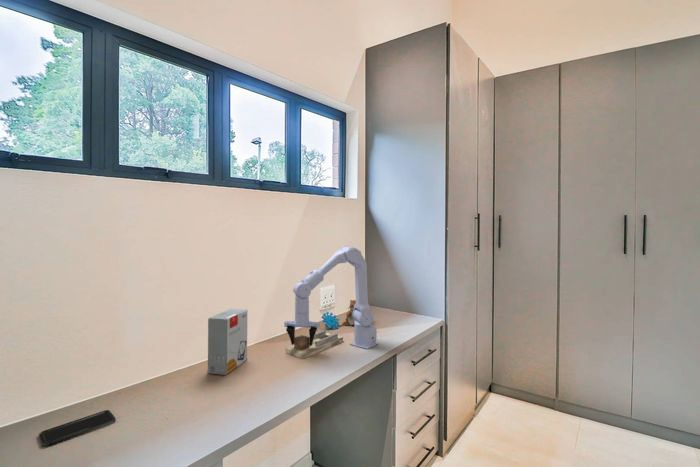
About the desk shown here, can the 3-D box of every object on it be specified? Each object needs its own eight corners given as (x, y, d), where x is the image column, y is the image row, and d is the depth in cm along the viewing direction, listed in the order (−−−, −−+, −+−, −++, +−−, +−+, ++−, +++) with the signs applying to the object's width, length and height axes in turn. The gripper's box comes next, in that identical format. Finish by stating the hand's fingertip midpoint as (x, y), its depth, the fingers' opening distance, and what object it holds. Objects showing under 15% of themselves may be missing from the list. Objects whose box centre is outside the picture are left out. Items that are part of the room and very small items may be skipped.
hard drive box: (226, 376, 123) (226, 319, 122) (207, 374, 124) (206, 318, 124) (248, 359, 138) (247, 308, 137) (230, 357, 140) (230, 307, 139)
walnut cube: (309, 347, 145) (309, 337, 145) (301, 350, 142) (301, 339, 142) (301, 345, 148) (301, 334, 148) (294, 348, 144) (294, 337, 144)
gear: (326, 328, 172) (320, 311, 178) (321, 335, 175) (314, 317, 181) (344, 327, 179) (337, 310, 185) (338, 333, 182) (331, 317, 188)
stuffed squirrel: (340, 326, 182) (340, 301, 182) (353, 319, 195) (353, 296, 194) (357, 329, 177) (357, 303, 177) (369, 322, 190) (369, 297, 189)
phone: (38, 432, 88) (108, 409, 100) (38, 436, 88) (108, 412, 100) (43, 446, 83) (116, 419, 94) (43, 450, 83) (116, 423, 94)
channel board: (343, 341, 159) (343, 332, 158) (302, 358, 138) (302, 348, 138) (326, 337, 165) (326, 328, 165) (285, 353, 144) (285, 343, 144)
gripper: (321, 310, 147) (321, 342, 148) (288, 308, 149) (288, 340, 150) (317, 314, 140) (317, 348, 141) (282, 313, 142) (282, 346, 143)
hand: (302, 344), depth 145 cm, fingers open, 7 cm apart
